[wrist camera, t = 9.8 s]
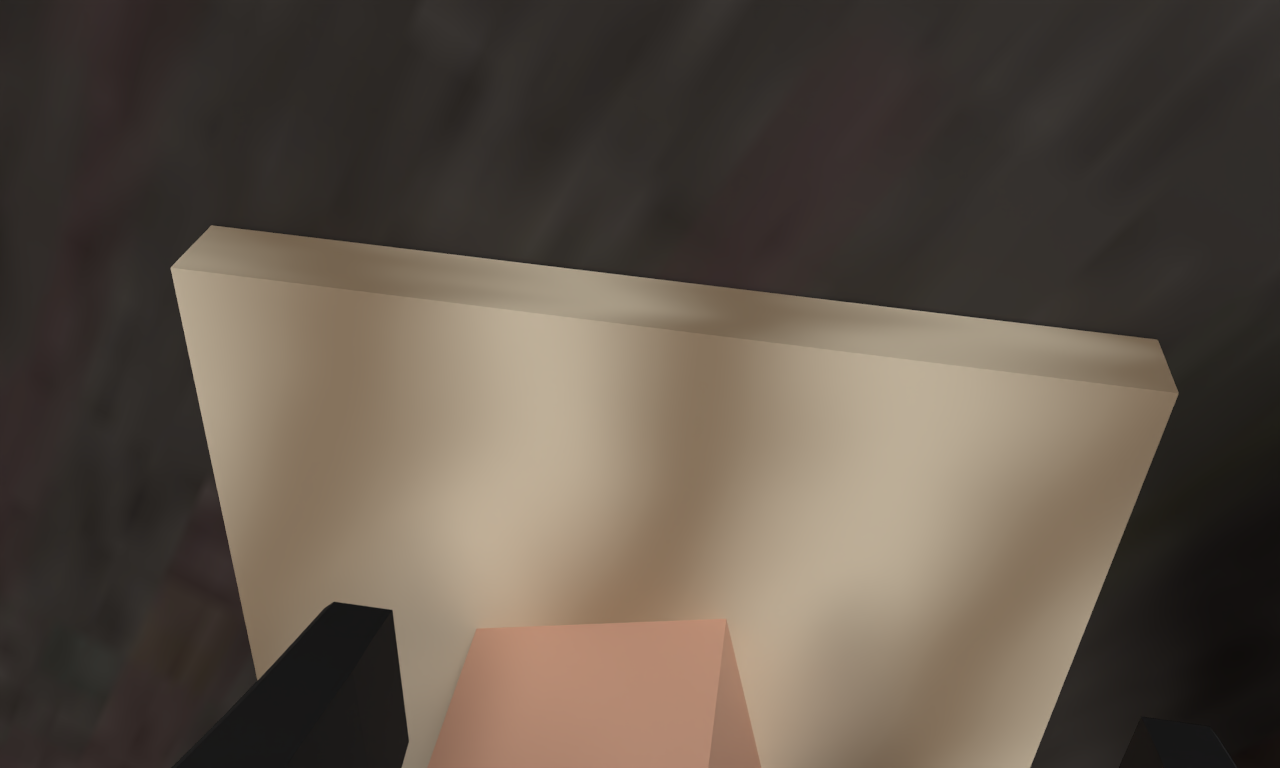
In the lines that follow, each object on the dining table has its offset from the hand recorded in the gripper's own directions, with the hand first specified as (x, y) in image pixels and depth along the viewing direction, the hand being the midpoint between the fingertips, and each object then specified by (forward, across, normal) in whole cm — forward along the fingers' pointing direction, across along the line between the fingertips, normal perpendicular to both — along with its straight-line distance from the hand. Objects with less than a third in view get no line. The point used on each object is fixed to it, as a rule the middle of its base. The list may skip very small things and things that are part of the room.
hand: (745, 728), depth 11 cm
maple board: (+9, +2, +10) cm, 14 cm away
